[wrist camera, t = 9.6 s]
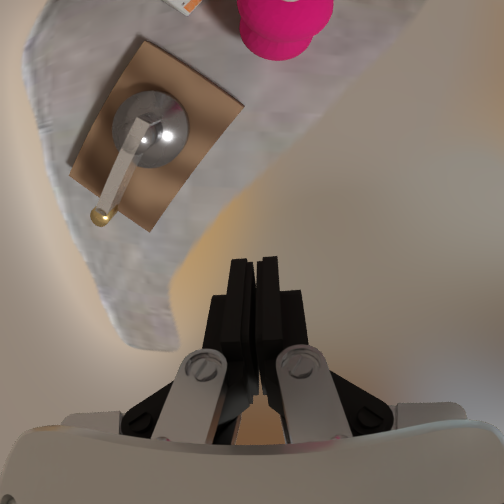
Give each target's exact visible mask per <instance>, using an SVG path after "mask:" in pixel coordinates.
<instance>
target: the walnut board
mask: <svg viewBox="0 0 504 504" xmlns="http://www.w3.org/2000/svg"><path fill="white" fill-rule="evenodd" d="M150 90H158V91H163V92H166V93H168V94H171V95H172V96H174V97H175V98H176V99H178V100H179V101H180V102H181V104H182V105H183V106H184V108H185V110H186V112H187V114H188V117H189V122H190V132H189V137H188V140H187V143H186V145H185V147H184V148H183V150H182V151H181V152H180V153H179V154H178V156H177V157H176V158H174V159H173V160H172V161H171V162H169V163H168V164H166V165H164V166H161V167H158V168H141V167H138V166H137V167H136V169H135V171H134V173H133V175H132V177H131V179H130V181H129V183H128V185H127V187H126V190H125V192H124V194H123V196H122V198H121V201H120V203H119V204H118V211H119V212H121V213H122V214H123V215H125V216H126V217H128V218H129V219H131V220H132V221H134V222H135V223H136V224H138V225H139V226H141V227H142V228H144V229H145V230H147V231H148V232H150V231H151V230H152V229H153V227H154V226H155V224H156V223H157V221H158V220H159V218H160V217H161V215H162V214H163V212H164V211H165V210H166V208H167V207H168V205H169V204H170V202H171V201H172V200H173V198H174V197H175V195H176V194H177V193H178V191H179V190H180V188H181V187H182V186H183V184H184V183H185V182H186V180H187V179H188V177H189V176H190V175H191V173H192V172H193V171H194V169H195V168H196V167H197V165H198V164H199V163H200V161H201V160H202V159H203V158H204V156H205V155H206V154H207V152H208V151H209V150H210V149H211V147H212V146H213V145H214V143H215V142H216V141H217V140H218V138H219V137H220V136H221V135H222V133H223V132H224V131H225V130H226V128H227V127H228V126H229V125H230V124H231V122H232V121H233V120H234V119H235V117H236V116H237V115H238V114H239V113H240V112H241V110H242V109H243V108H244V105H243V104H241V103H240V102H239V101H237V100H236V99H235V98H233V97H232V96H231V95H229V94H228V93H227V92H225V91H224V90H222V89H221V88H220V87H218V86H217V85H215V84H214V83H212V82H211V81H210V80H208V79H207V78H205V77H204V76H202V75H201V74H199V73H198V72H196V71H195V70H193V69H192V68H190V67H189V66H187V65H186V64H184V63H183V62H181V61H180V60H178V59H177V58H175V57H174V56H172V55H170V54H169V53H167V52H166V51H164V50H162V49H161V48H159V47H157V46H156V45H154V44H152V43H151V42H147V41H144V42H143V44H142V45H141V47H140V48H139V49H138V51H137V52H136V54H135V55H134V57H133V58H132V60H131V61H130V63H129V64H128V66H127V67H126V69H125V70H124V72H123V73H122V75H121V76H120V78H119V80H118V81H117V83H116V85H115V86H114V88H113V89H112V91H111V93H110V95H109V96H108V98H107V100H106V101H105V103H104V105H103V107H102V109H101V110H100V112H99V114H98V116H97V118H96V120H95V121H94V123H93V125H92V127H91V129H90V131H89V133H88V135H87V137H86V139H85V141H84V143H83V145H82V147H81V150H80V152H79V154H78V156H77V158H76V160H75V163H74V165H73V167H72V169H71V172H70V174H69V176H70V177H72V178H73V179H74V180H76V181H77V182H78V183H80V184H81V185H83V186H84V187H85V188H87V189H88V190H89V191H91V192H92V193H94V194H95V195H96V196H98V197H99V198H100V196H101V194H102V191H103V189H104V186H105V184H106V181H107V179H108V177H109V174H110V172H111V170H112V167H113V165H114V163H115V161H116V159H117V156H118V154H119V152H118V150H117V148H116V146H115V144H114V141H113V137H112V124H113V119H114V116H115V114H116V112H117V110H118V108H119V107H120V105H121V104H122V103H123V102H124V101H125V100H126V99H128V98H129V97H131V96H132V95H134V94H137V93H140V92H144V91H150Z"/></svg>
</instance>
